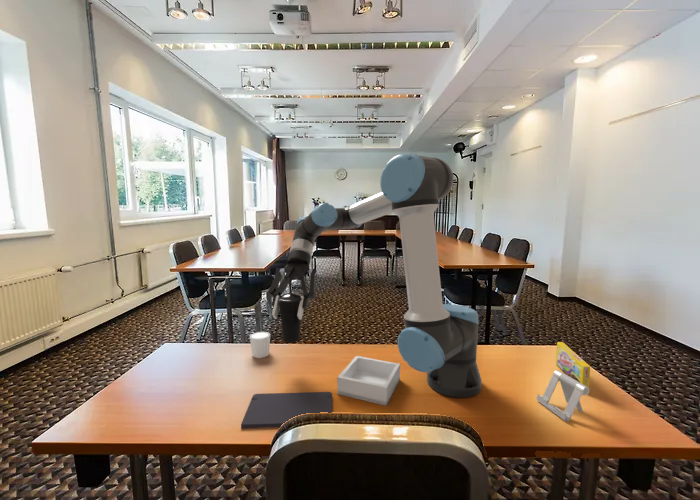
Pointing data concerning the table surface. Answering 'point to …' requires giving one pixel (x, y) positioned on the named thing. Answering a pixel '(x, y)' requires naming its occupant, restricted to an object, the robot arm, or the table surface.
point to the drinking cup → (290, 315)
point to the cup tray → (369, 380)
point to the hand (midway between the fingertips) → (286, 317)
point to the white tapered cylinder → (260, 344)
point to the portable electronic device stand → (571, 393)
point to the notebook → (284, 407)
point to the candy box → (572, 364)
